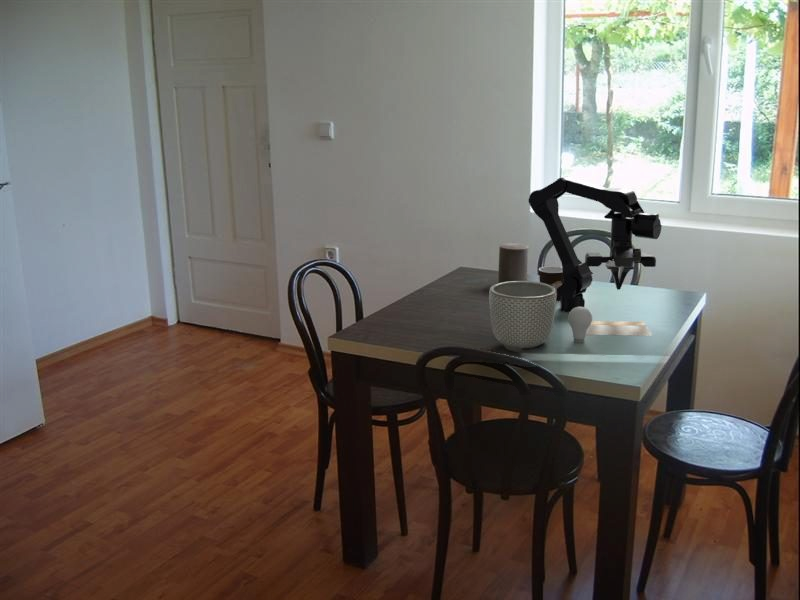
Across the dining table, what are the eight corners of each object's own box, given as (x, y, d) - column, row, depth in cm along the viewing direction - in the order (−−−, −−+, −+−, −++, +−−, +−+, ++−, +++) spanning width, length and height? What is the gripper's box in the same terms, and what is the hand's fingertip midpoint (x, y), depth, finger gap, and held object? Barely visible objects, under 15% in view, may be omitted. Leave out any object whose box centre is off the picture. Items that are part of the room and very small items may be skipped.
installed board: (576, 339, 222) (576, 334, 222) (572, 329, 231) (572, 324, 230) (652, 341, 220) (652, 335, 220) (645, 330, 229) (646, 325, 228)
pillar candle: (499, 289, 274) (500, 245, 269) (497, 281, 283) (498, 239, 279) (528, 289, 273) (530, 245, 269) (525, 282, 283) (527, 239, 278)
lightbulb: (569, 342, 220) (570, 302, 217) (592, 344, 218) (594, 304, 215) (564, 349, 215) (566, 309, 212) (588, 352, 212) (590, 311, 209)
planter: (485, 356, 210) (486, 296, 206) (490, 335, 226) (491, 279, 222) (554, 360, 207) (556, 298, 203) (554, 338, 223) (556, 281, 219)
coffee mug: (537, 303, 256) (538, 272, 254) (537, 296, 265) (538, 266, 262) (575, 304, 254) (576, 273, 252) (574, 297, 263) (576, 267, 260)
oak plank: (572, 329, 231) (572, 324, 230) (569, 319, 240) (569, 315, 239) (645, 330, 229) (645, 325, 229) (639, 320, 238) (639, 316, 237)
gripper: (590, 241, 222) (588, 296, 227) (661, 241, 221) (657, 297, 225) (586, 233, 233) (583, 286, 237) (653, 233, 231) (649, 286, 235)
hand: (618, 289), depth 233 cm, fingers closed
